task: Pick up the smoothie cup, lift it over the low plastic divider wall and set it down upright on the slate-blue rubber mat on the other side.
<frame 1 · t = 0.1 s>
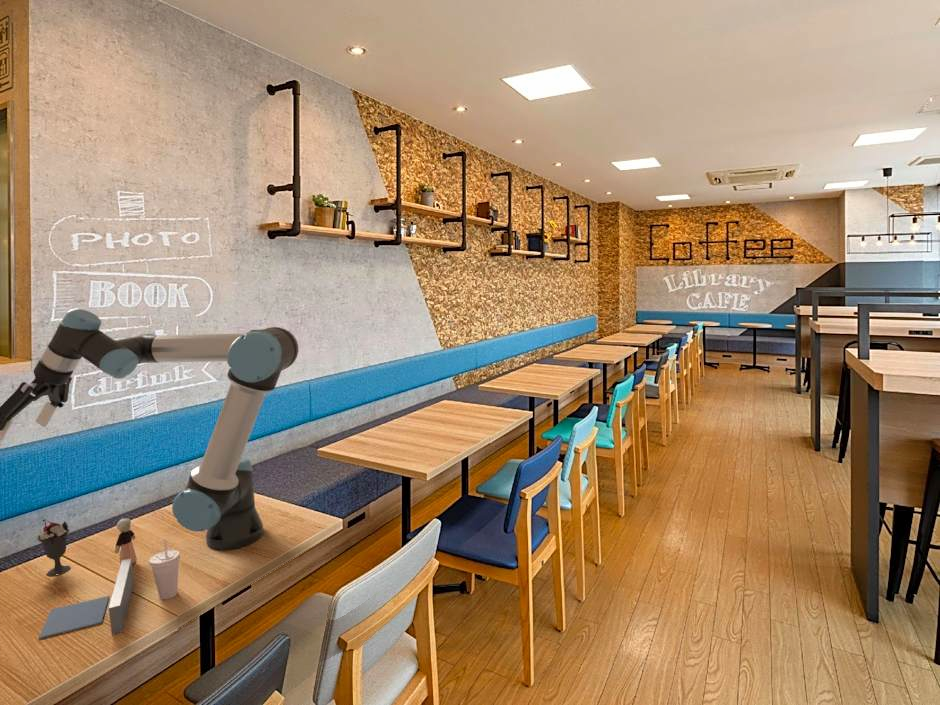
hand: (19, 431, 141), 36 cm above the table, tool tilted 35°, fingers open, 13 cm apart
divider wall: (123, 605, 125), on the table
sundae: (58, 571, 141), on the table
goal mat: (76, 617, 121), on the table
grandmother figurine: (129, 565, 143), on the table
smoothie: (168, 595, 129), on the table
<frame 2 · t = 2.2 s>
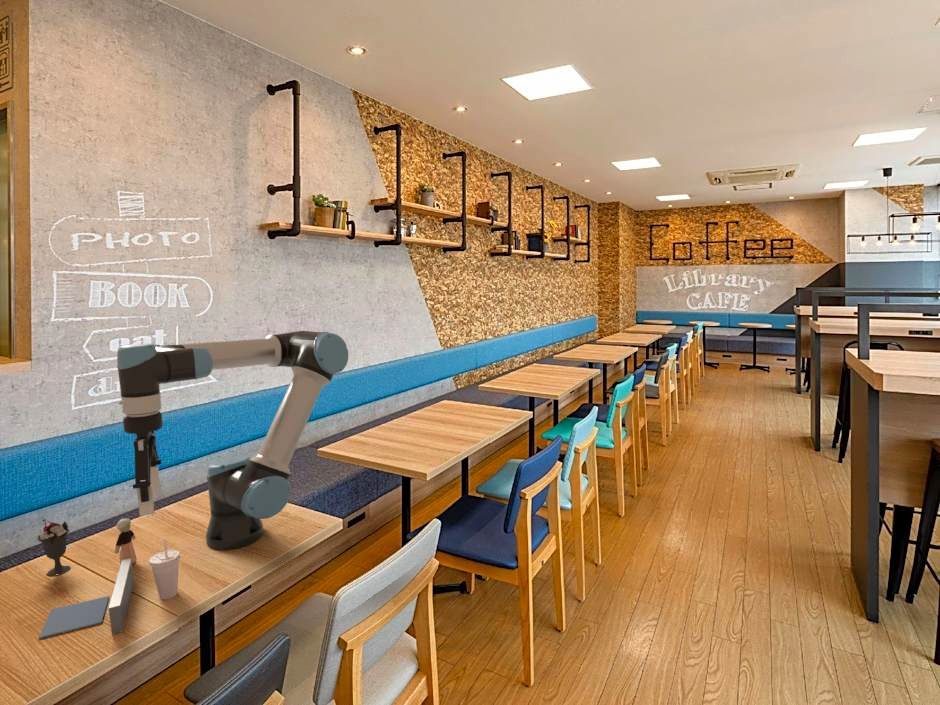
hand: (150, 503, 125), 23 cm above the table, tool pointing down, fingers open, 13 cm apart
nothing on the table moved.
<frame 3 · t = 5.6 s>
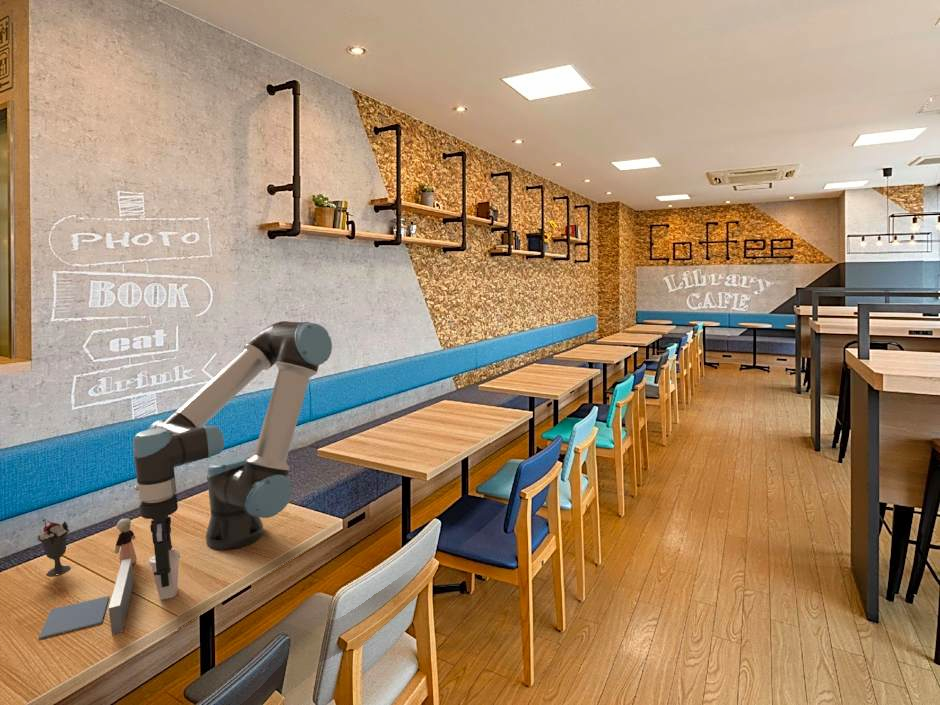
hand: (167, 590, 129), 1 cm above the table, tool pointing down, fingers closed on smoothie, 6 cm apart
smoothie: (168, 595, 129), on the table, touching gripper
everything else where it was.
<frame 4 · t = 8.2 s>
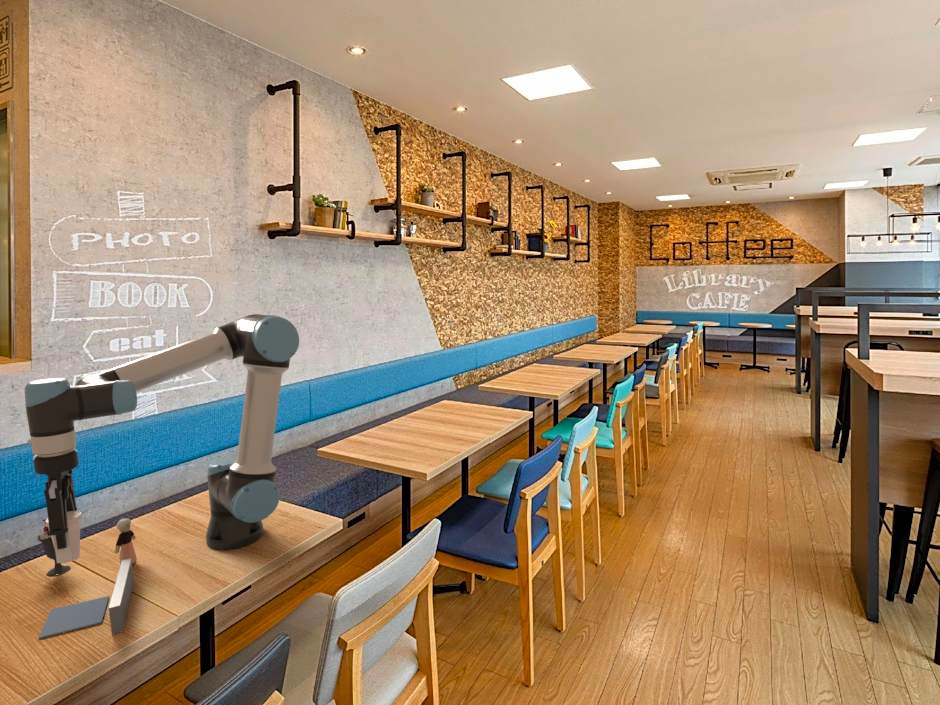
hand: (68, 553, 119), 15 cm above the table, tool pointing down, fingers closed on smoothie, 6 cm apart
smoothie: (69, 559, 119), point 14 cm above the table, touching gripper
everything else where it was.
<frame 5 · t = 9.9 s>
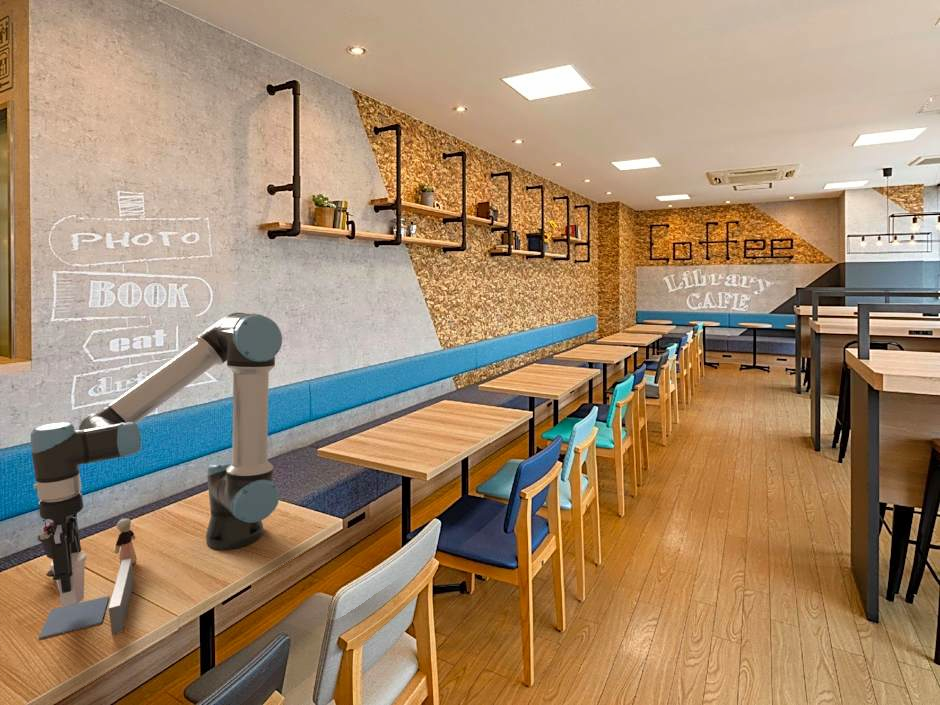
hand: (72, 595, 120), 5 cm above the table, tool pointing down, fingers closed on smoothie, 6 cm apart
smoothie: (73, 601, 120), point 4 cm above the table, touching gripper
everything else where it was.
when the fingers open (3 cm above the table, at t = 11.1 s): smoothie drops 1 cm, resting on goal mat.
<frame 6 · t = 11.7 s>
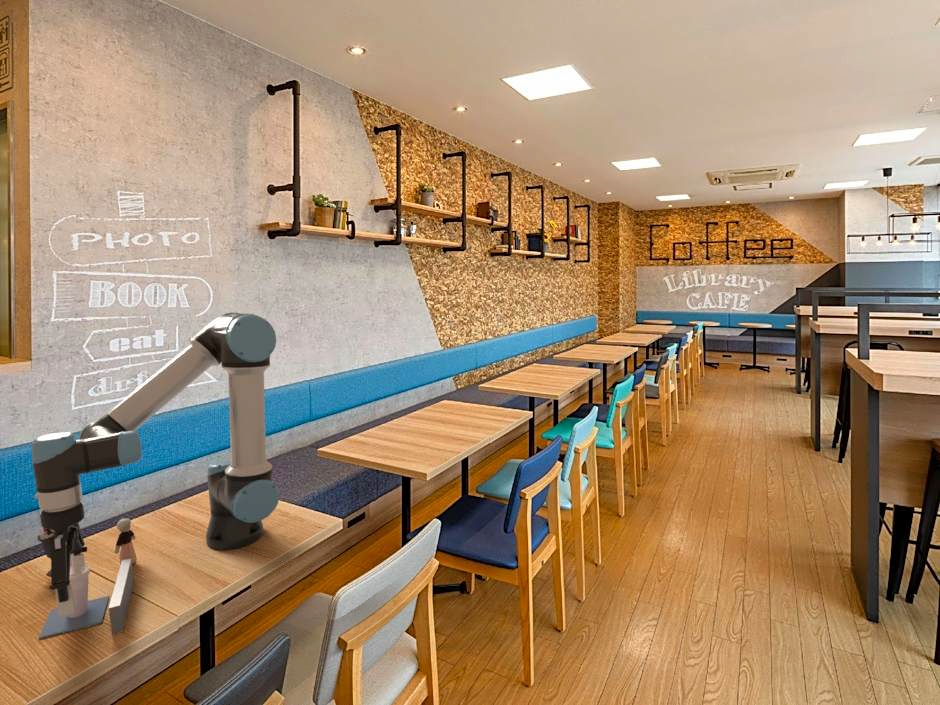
hand: (73, 597, 120), 5 cm above the table, tool pointing down, fingers open, 13 cm apart
smoothie: (77, 613, 122), resting on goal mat
everything else where it was.
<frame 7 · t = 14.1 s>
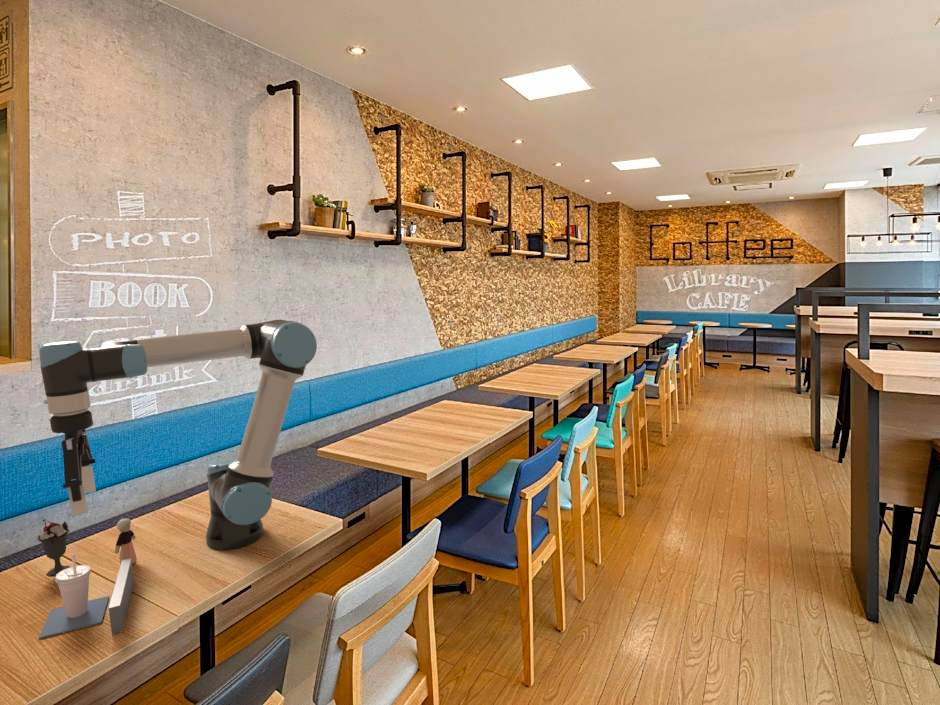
hand: (84, 502, 124), 24 cm above the table, tool pointing down, fingers open, 13 cm apart
nothing on the table moved.
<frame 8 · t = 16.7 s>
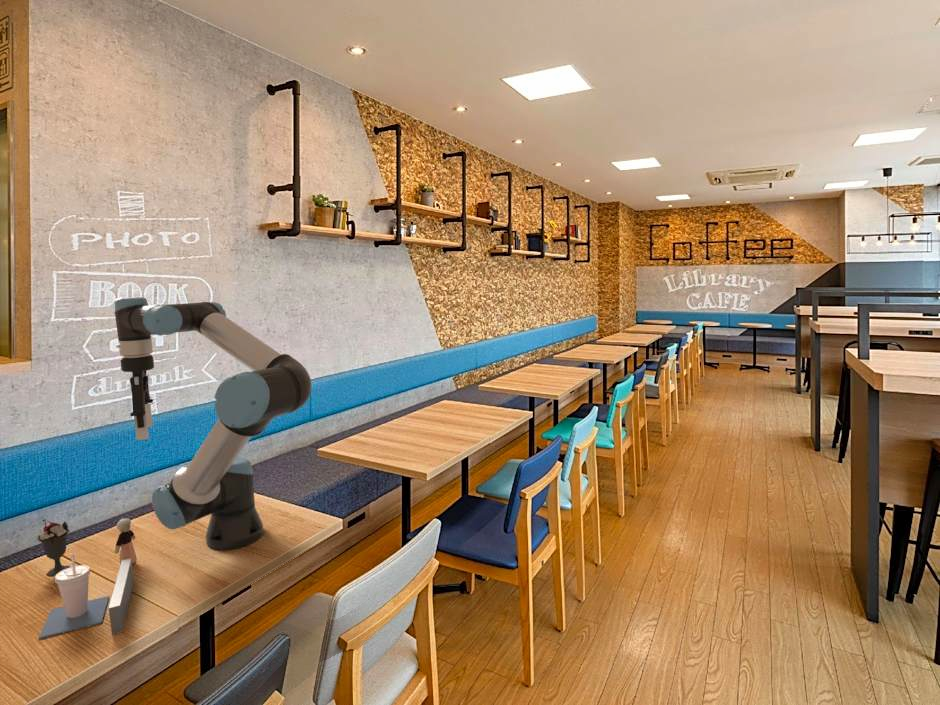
hand: (145, 432, 148), 33 cm above the table, tool pointing down, fingers open, 13 cm apart
nothing on the table moved.
at the end: smoothie inside the target area (1.0 cm from its centre), resting on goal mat; smoothie tilted 1°; the gripper is holding nothing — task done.
